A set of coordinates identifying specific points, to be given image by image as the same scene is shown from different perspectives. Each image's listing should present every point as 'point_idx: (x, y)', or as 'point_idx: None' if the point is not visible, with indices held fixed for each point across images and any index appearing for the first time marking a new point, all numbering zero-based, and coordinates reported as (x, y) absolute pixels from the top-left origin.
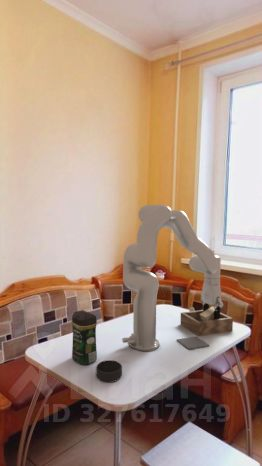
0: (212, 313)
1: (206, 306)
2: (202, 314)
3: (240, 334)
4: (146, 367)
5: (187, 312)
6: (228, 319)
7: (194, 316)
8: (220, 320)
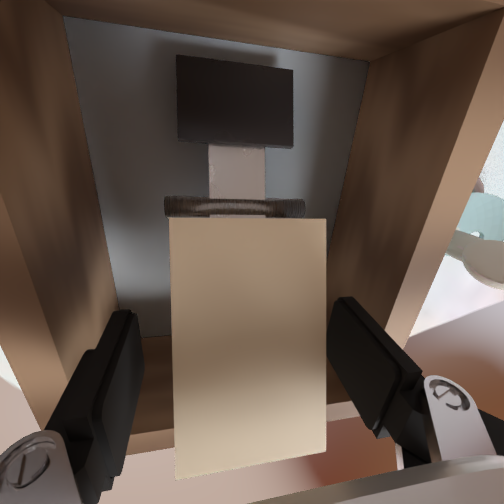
0: (174, 355)
1: (378, 395)
2: (282, 240)
3: (10, 369)
4: None
5: (492, 92)
6: (46, 424)
7: (387, 197)
8: (6, 343)
